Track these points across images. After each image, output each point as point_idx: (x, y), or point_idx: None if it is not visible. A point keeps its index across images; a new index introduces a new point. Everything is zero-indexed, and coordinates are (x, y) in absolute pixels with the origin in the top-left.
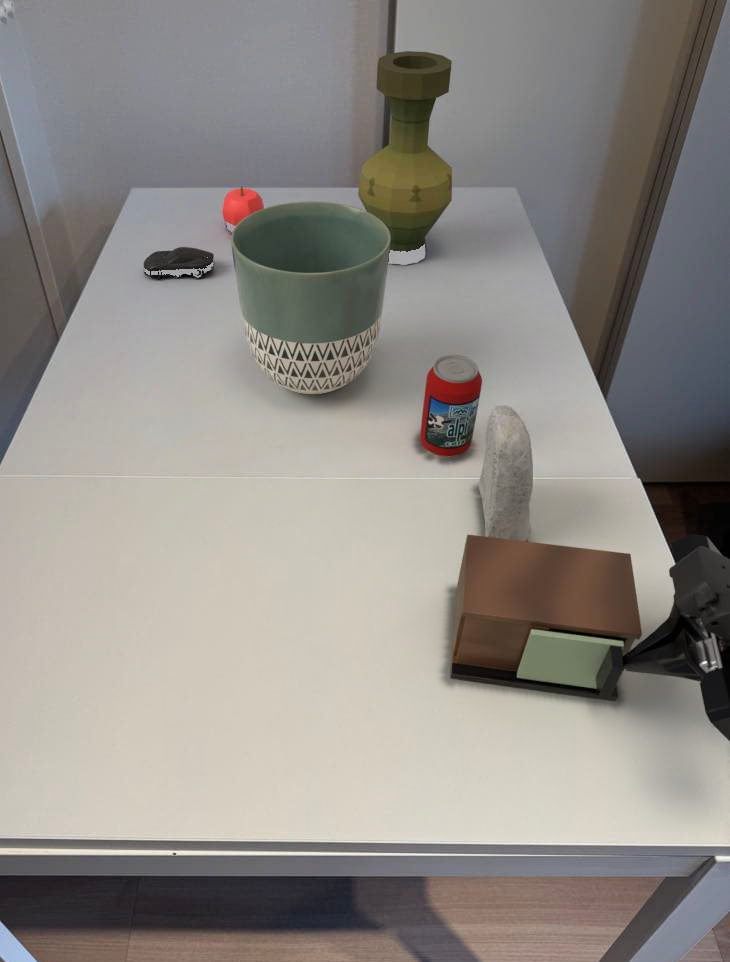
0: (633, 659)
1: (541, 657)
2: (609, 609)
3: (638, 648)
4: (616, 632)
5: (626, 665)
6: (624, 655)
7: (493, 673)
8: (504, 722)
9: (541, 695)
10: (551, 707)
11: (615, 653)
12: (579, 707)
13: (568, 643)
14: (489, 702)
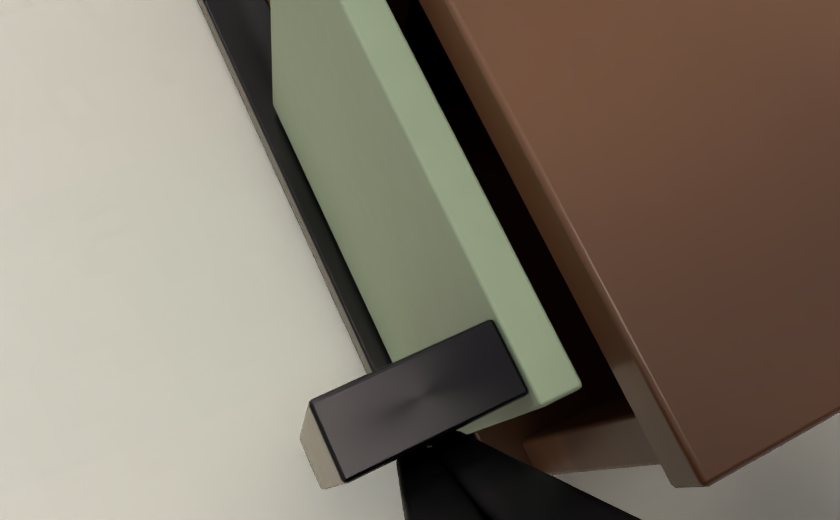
0: (443, 516)
1: (304, 73)
2: (758, 190)
3: (544, 512)
4: (602, 305)
5: (401, 488)
6: (475, 441)
7: (248, 23)
8: (68, 154)
9: (282, 236)
10: (247, 292)
11: (446, 376)
12: (314, 395)
13: (366, 90)
14: (132, 73)
